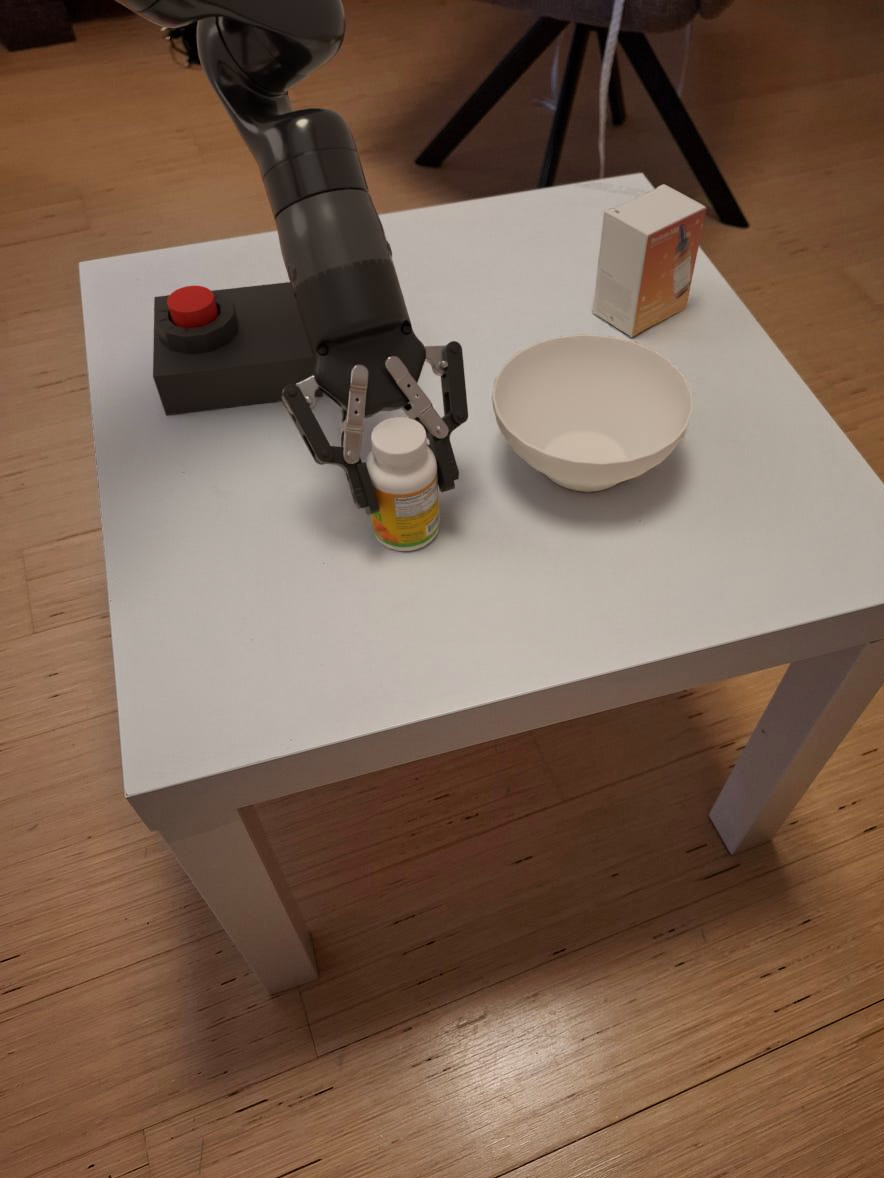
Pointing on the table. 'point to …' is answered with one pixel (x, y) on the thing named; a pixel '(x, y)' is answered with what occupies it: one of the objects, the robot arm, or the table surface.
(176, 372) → the red push button box
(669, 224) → the small box
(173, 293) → the power button
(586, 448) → the bowl
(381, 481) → the supplement bottle
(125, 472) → the table surface
